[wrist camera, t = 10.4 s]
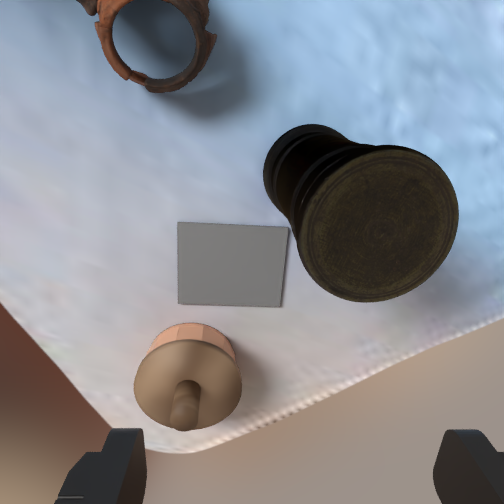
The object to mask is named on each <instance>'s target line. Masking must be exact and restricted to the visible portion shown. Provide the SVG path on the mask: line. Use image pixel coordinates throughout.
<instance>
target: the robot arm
mask: <svg viewBox="0 0 504 504" xmlns="http://www.w3.org/2000/svg"><path fill="white" fill-rule="evenodd" d="M146 479H147V466H146V457H145V445H144V435H143V430H142V429H141V428H113V429H111V431H110V432H109V434H108V436H107V439H106V441H105V444H104V446H103V449H102V451H101V452H86V453H85V454H84V456H83V457H82V458H81V459H80V460H79V461H78V462H77V463H76V464H75V466H74V467H73V468H72V469H71V470H70V471H69V473H68V475H67V477H66V479H65V481H64V483H63V486H62V488H61V490H60V492H59V494H58V499H57V500H56V501H55V503H54V504H142V503H143V499H144V494H145V488H146ZM433 480H434V485H435V489H436V492H437V494H438V496H439V499H440V500H441V503H442V504H504V452H497V451H496V450H495V448H494V447H493V446H492V444H491V443H490V442H489V440H488V439H487V437H486V436H485V435H484V434H483V433H482V432H481V431H479V430H447V431H446V432H445V434H444V437H443V440H442V443H441V446H440V449H439V452H438V455H437V459H436V462H435V465H434V469H433Z"/></svg>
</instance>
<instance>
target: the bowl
mask: <svg viewBox="0 0 504 504" xmlns="http://www.w3.org/2000/svg"><path fill="white" fill-rule="evenodd" d="M182 339H193V340H201V341H205V342H208V343H211V344H214V345H216V346H218V347H220V348H221V349H223V350H224V351H226V352H227V353H228V354H229V355H230V356H231V357H232V358H233V359H234V361H235V353H234V352H233V349H232V346H231V344H230V342H229V341H228V339H227V338H226V337H225V336H224V335H223V334H222V333H220V332H219V331H218V330H216V329H214V328H212V327H210V326H207V325H204V324H199V323H183V324H178V325H174V326H172V327H169V328H168V329H166V330H164V331H163V332H161V333H160V334H159V335H158V336H157V337H156V338H155V340H154V341H153V343H152V345H151V347H150V349H149V350H148V352H147V354H146V356H147V355H148V354H149V353H150V352H151V351H152V350H154V349H155V348H157V347H159V346H161V345H163V344H165V343H168V342H171V341H175V340H182Z"/></svg>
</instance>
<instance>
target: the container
mask: <svg viewBox="0 0 504 504" xmlns="http://www.w3.org/2000/svg"><path fill="white" fill-rule="evenodd" d="M263 180H264V186H265V189H266V192H267V194H268V196H269V198H270V200H271V201H272V203H273V204H274V205H275V206H276V207H277V209H278V210H279V211H280V212H281V213H283V214H284V216H285V217H286V218H287V219H288V221H289V223H290V225H291V228H292V231H293V234H294V237H295V239H296V242H297V249H298V252H299V256H300V258H301V261H302V263H303V265H304V267H305V269H306V271H307V272H308V274H309V275H310V276H311V278H312V279H313V280H314V281H315V282H316V283H317V284H318V285H319V286H320V287H322V288H323V289H324V290H326V291H327V292H329V293H331V294H333V295H335V296H337V297H339V298H342V299H345V300H349V301H354V302H379V301H385V300H389V299H392V298H395V297H398V296H401V295H403V294H405V293H407V292H409V291H411V290H413V289H414V288H416V287H418V286H419V285H421V284H422V283H423V282H424V281H426V280H427V279H428V278H429V277H430V276H431V275H432V274H433V273H434V272H435V271H436V270H437V269H438V268H439V267H440V265H441V264H442V263H443V261H444V260H445V258H446V257H447V255H448V253H449V251H450V249H451V247H452V245H453V242H454V239H455V236H456V232H457V227H458V220H459V210H458V202H457V197H456V194H455V191H454V188H453V186H452V184H451V182H450V180H449V178H448V176H447V175H446V174H445V172H444V171H443V170H442V169H441V167H440V166H439V165H438V164H437V163H436V162H434V161H433V160H432V159H431V158H429V157H428V156H426V155H424V154H422V153H421V152H418V151H416V150H413V149H410V148H407V147H403V146H396V145H378V146H375V145H369V144H359V143H356V142H353V141H350V140H348V139H347V138H346V137H344V136H343V135H342V134H341V133H339V132H337V131H336V130H334V129H332V128H330V127H327V126H323V125H318V124H307V125H302V126H298V127H295V128H293V129H291V130H289V131H287V132H286V133H284V134H283V135H282V136H281V137H280V138H279V139H278V140H277V141H276V142H275V143H274V144H273V146H272V147H271V149H270V150H269V152H268V154H267V157H266V160H265V163H264V170H263Z"/></svg>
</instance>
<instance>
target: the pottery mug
mask: <svg viewBox="0 0 504 504" xmlns="http://www.w3.org/2000/svg"><path fill="white" fill-rule="evenodd" d="M77 1H78V2H79V3H81V5H82V6H83V7H84V8H85V10H86V12H87V13H88V14H89V15H91V16H94V15H95V14H96V13H98V15H99V20H100V21H97V22H95V28H96V31H97V34H98V37H99V39H100V41H101V45H102V49H103V52H104V55H105V57H106V58H107V60H108V62H109V64H110V65H111V66H112V68H113V69H114V71H116V72H117V73H118V74H119V75H120V76H121V77H122V78H123V79H125V80H128V79H130V80H132V81H134V82H136V83H138V84H141V85H143V86H145V87H146V89H147V90H148V91H149V92H152V93H164V92H172V91H175V90H179V89H180V88H182V87H184V86H185V85H187V84H188V82H191V81H192V80H193V79H194V78H195V77H196V76H197V74H198V73H199V72H200V71H201V70H202V69H203V67H204V66H205V64H206V62H207V60H208V57H209V55H210V53H211V51H212V49H213V46H214V45H215V42H216V38H217V35H216V34H212V33H210V32H208V31H206V30H205V26H206V24H207V22H208V18H209V8H208V3H209V0H162V1H165V2H168V3H171V4H172V5H174V6H175V7H176V8H178V9H179V10H180V11H181V12H182V13H183V14H184V15H185V17H186V18H187V19H188V21H189V23H190V25H191V27H192V29H193V32H194V35H195V39H196V48H195V53H194V57H193V59H192V61H191V63H190V64H189V66H188V67H187V68H186V69H185V70H184V71H183V72H181V73H179V74H178V75H176V76H173V77H171V78H167V79H152V78H148V76H147V75H145V74H143V73H140V72H137V71H134V70H131V68H130V67H128V66H127V65H126V64H125V63H124V62H123V60H122V59H121V58H120V56H119V55H118V53H117V51H116V49H115V46H114V42H113V37H112V26H113V22H114V19H115V17H116V15H117V14H118V12H119V11H120V9H122V8H123V7H124V6H125V5H126V4H128V3H129V2H131V1H133V0H77Z"/></svg>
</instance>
